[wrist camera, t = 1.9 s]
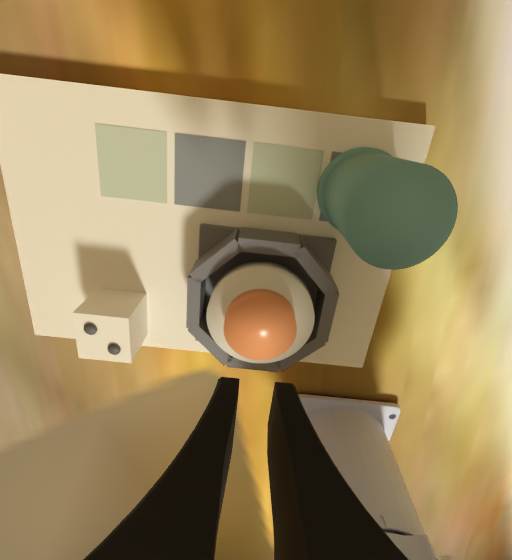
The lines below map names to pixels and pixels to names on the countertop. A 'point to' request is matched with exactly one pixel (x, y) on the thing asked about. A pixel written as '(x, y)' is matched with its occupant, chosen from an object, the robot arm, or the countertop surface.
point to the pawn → (387, 206)
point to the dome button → (260, 312)
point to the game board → (180, 214)
